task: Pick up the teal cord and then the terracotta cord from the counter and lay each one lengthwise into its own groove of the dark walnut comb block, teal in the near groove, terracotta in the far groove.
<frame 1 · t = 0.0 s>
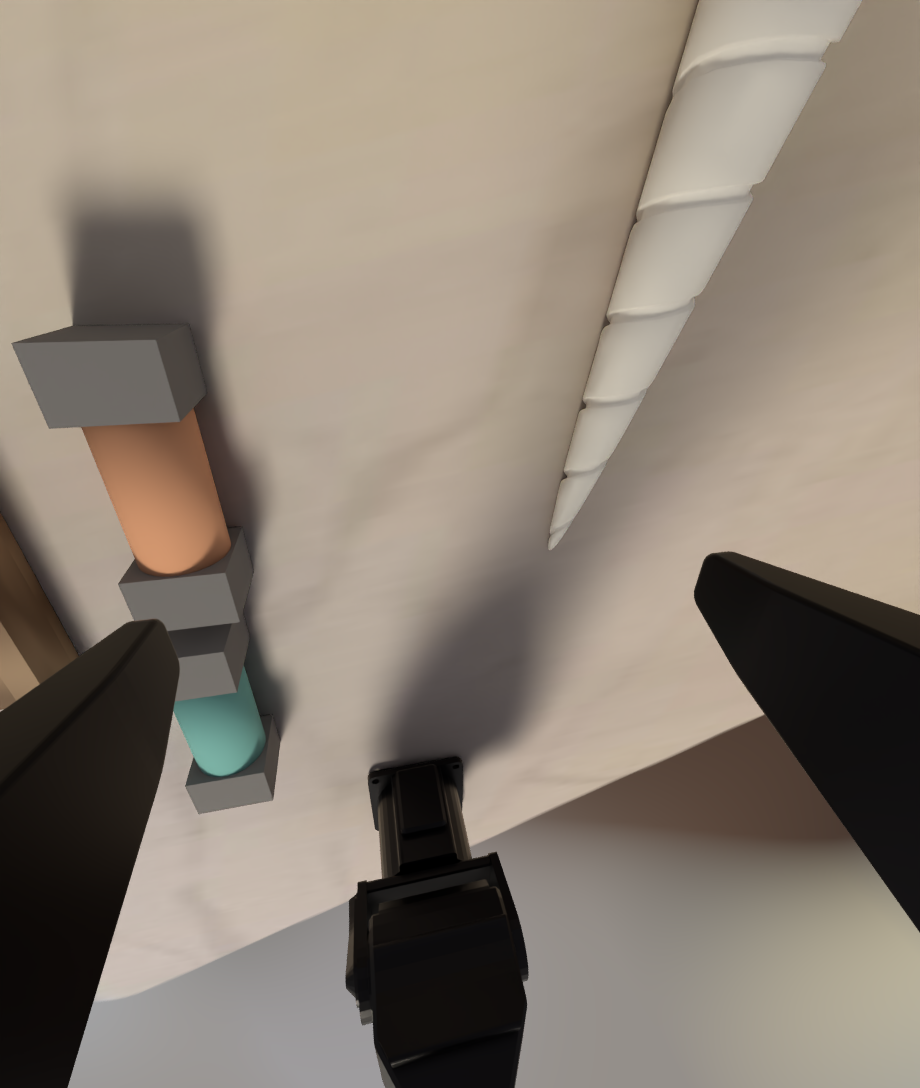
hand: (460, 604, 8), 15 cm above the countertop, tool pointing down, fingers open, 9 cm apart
teal cord: (225, 682, 27), on the countertop
unicorn horn: (640, 289, 21), on the countertop
terracotta cord: (177, 468, 20), on the countertop
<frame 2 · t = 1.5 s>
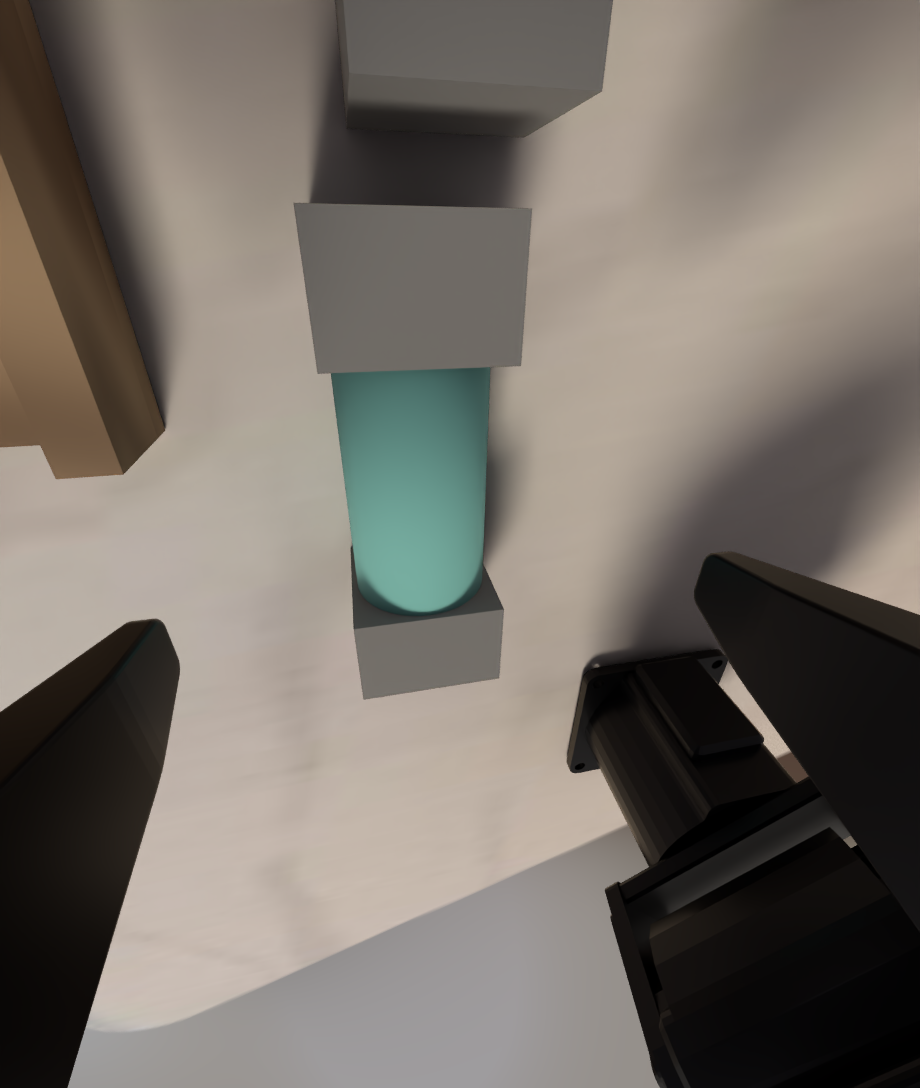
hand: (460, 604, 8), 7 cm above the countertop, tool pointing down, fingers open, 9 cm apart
teal cord: (407, 451, 14), on the countertop
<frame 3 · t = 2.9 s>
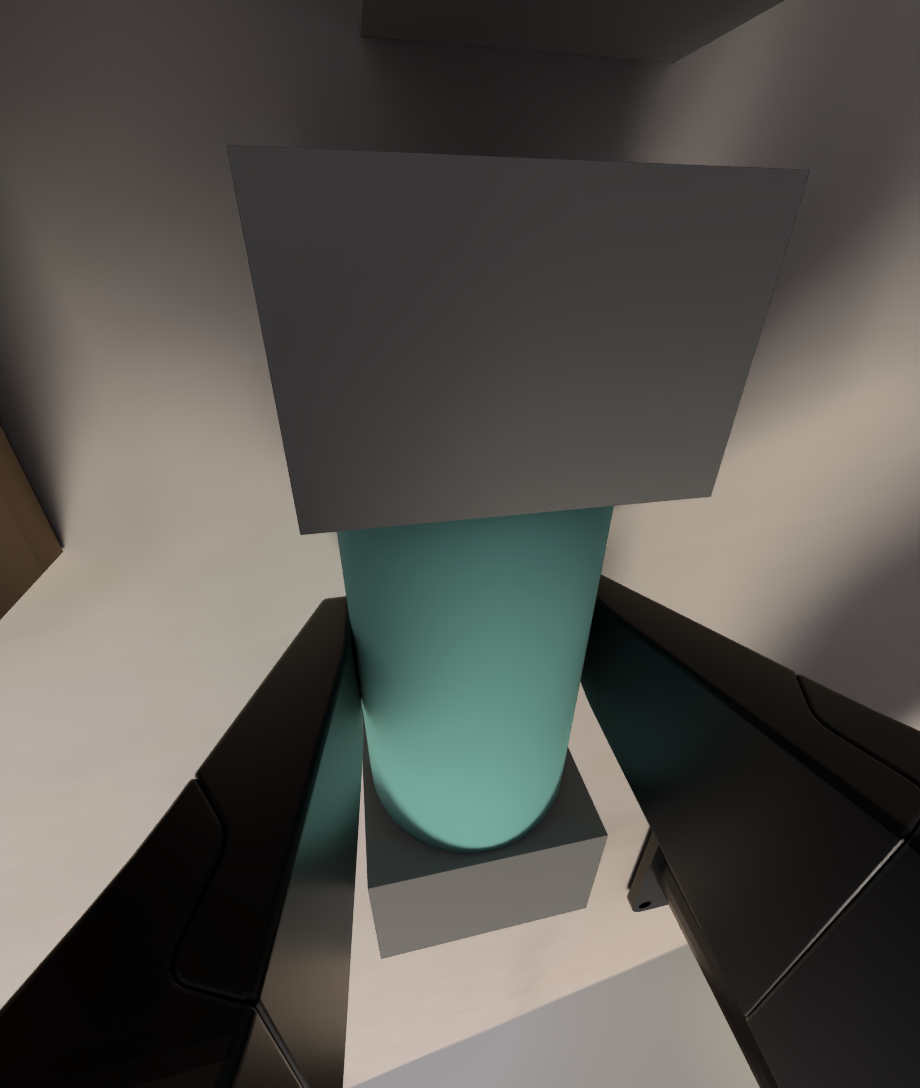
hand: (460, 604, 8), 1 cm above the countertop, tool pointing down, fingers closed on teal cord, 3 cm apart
teal cord: (446, 563, 9), on the countertop, touching gripper
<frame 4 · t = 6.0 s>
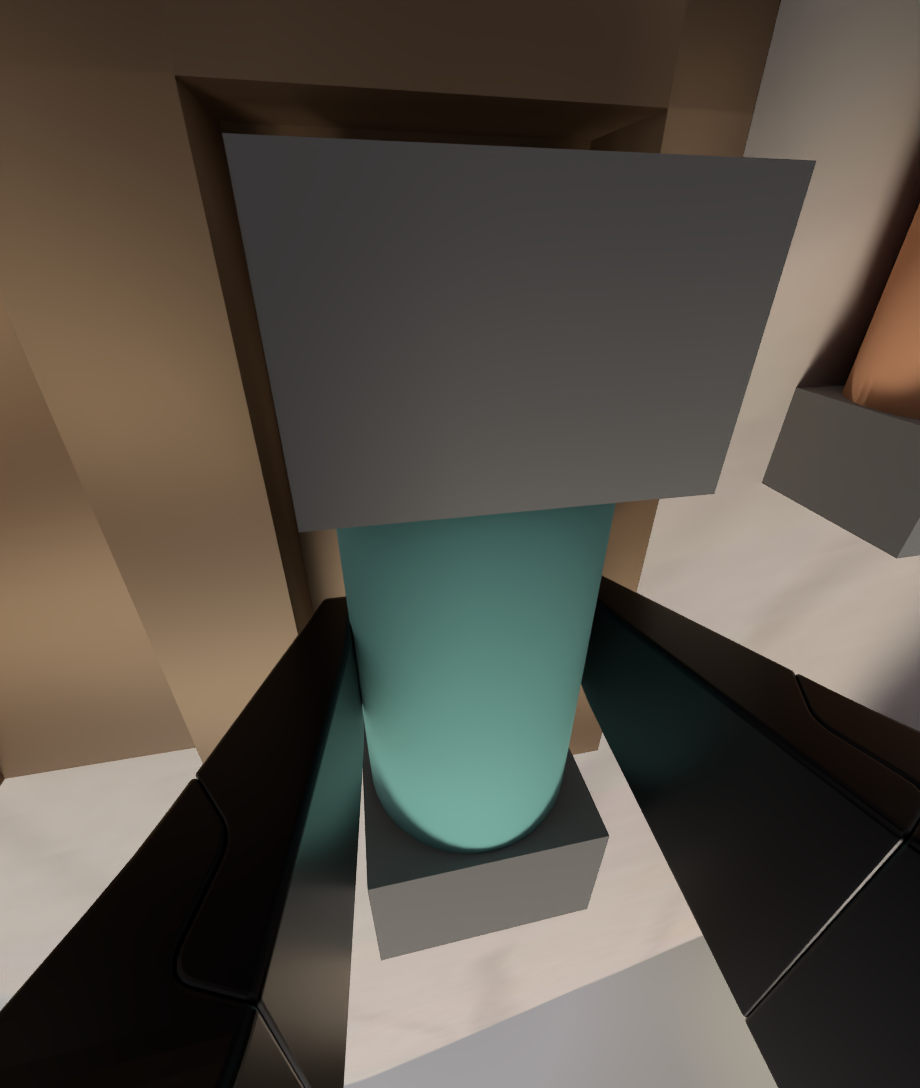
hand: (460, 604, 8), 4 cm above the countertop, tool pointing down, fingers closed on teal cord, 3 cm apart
teal cord: (447, 562, 9), point 3 cm above the countertop, touching gripper
comb block: (233, 488, 10), on the countertop
when the fingers open (4 cm above the countertop, at t = 6.0 s): teal cord drops 2 cm, resting on comb block.
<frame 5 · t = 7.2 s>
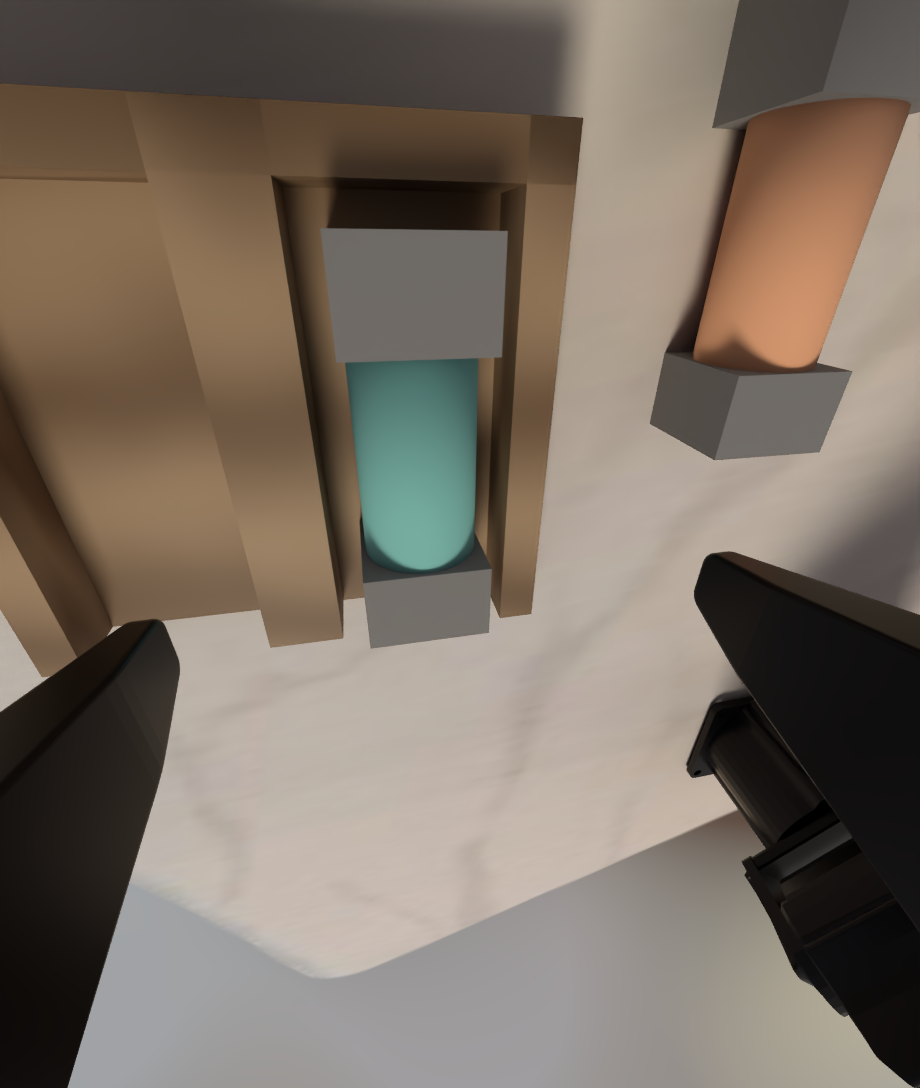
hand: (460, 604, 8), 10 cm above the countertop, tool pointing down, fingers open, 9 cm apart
teal cord: (409, 434, 16), point 1 cm above the countertop, touching comb block
comb block: (278, 415, 15), on the countertop
terracotta cord: (738, 252, 16), on the countertop
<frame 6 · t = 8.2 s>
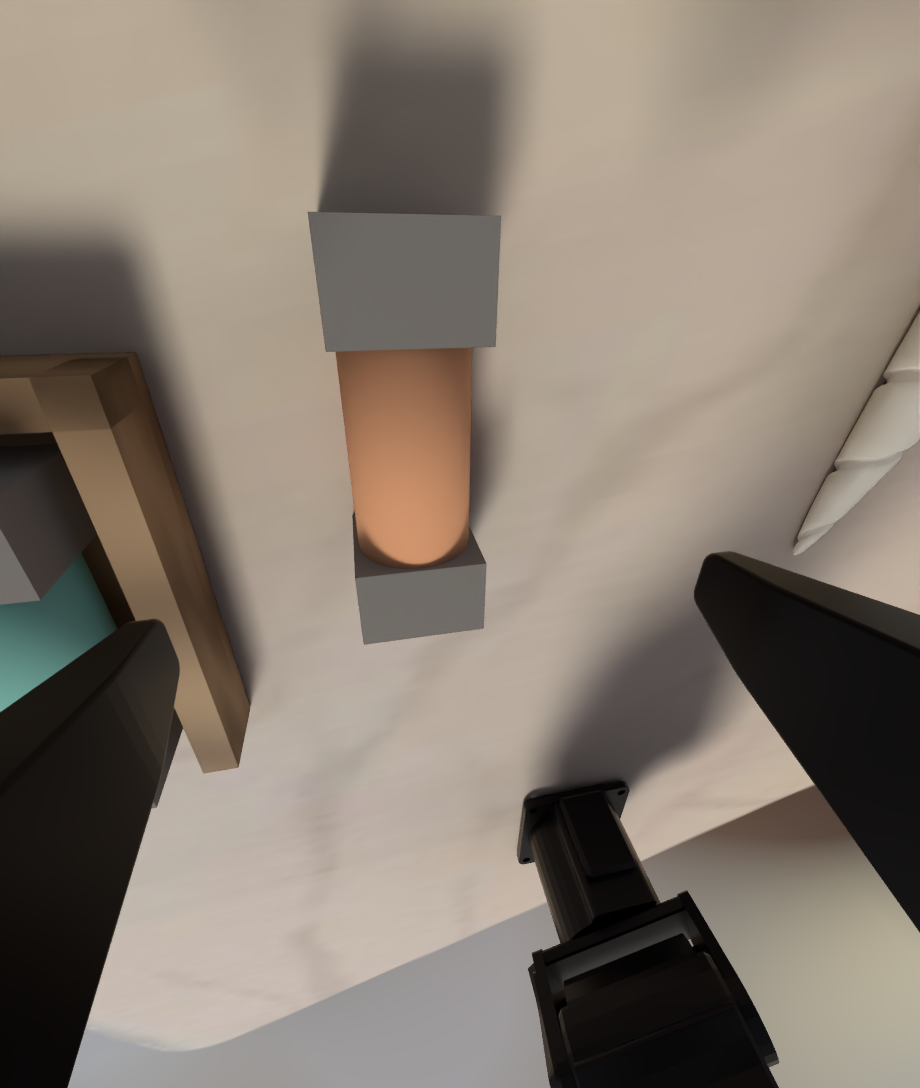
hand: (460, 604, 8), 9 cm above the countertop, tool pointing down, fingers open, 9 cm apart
teal cord: (76, 609, 16), point 1 cm above the countertop, touching comb block
terracotta cord: (402, 427, 16), on the countertop
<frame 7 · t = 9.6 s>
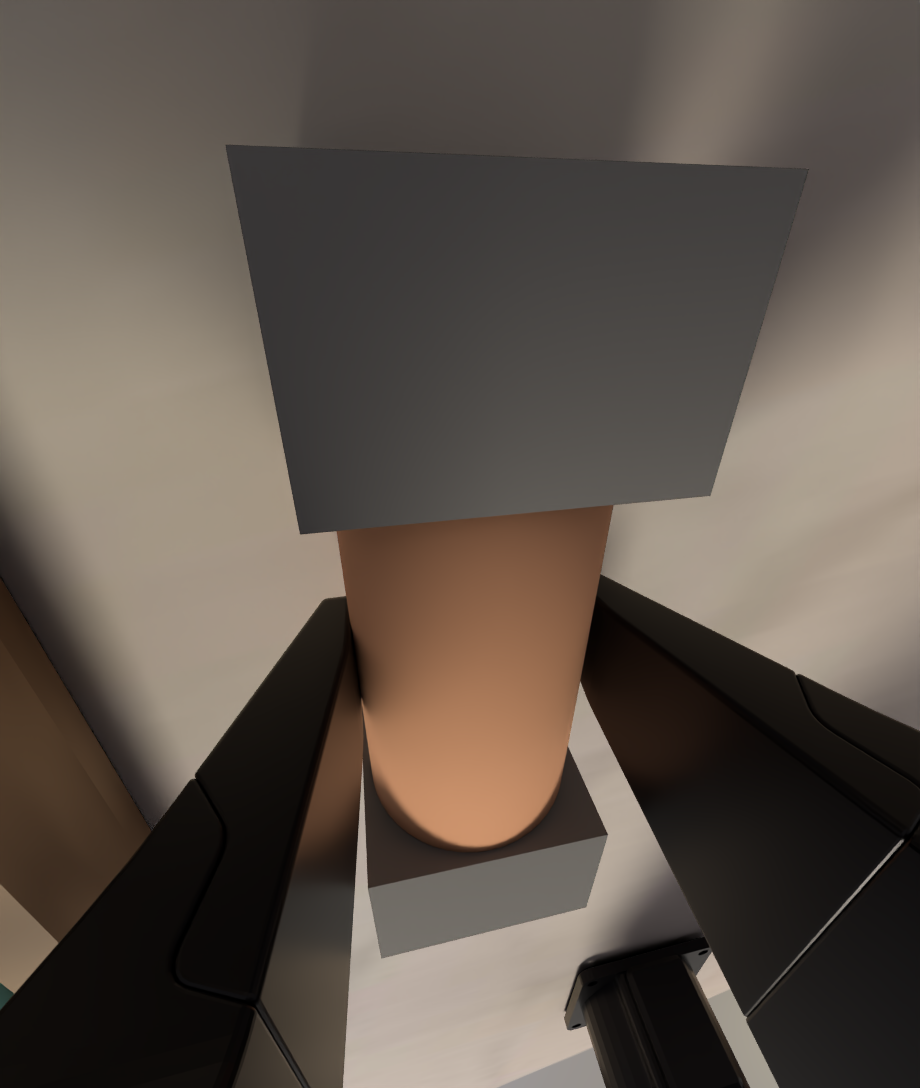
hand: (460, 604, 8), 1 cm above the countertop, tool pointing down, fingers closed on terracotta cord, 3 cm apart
terracotta cord: (446, 563, 9), on the countertop, touching gripper
when the fingers open (4 cm above the countertop, at t = 13.3 s): terracotta cord drops 2 cm, resting on comb block.
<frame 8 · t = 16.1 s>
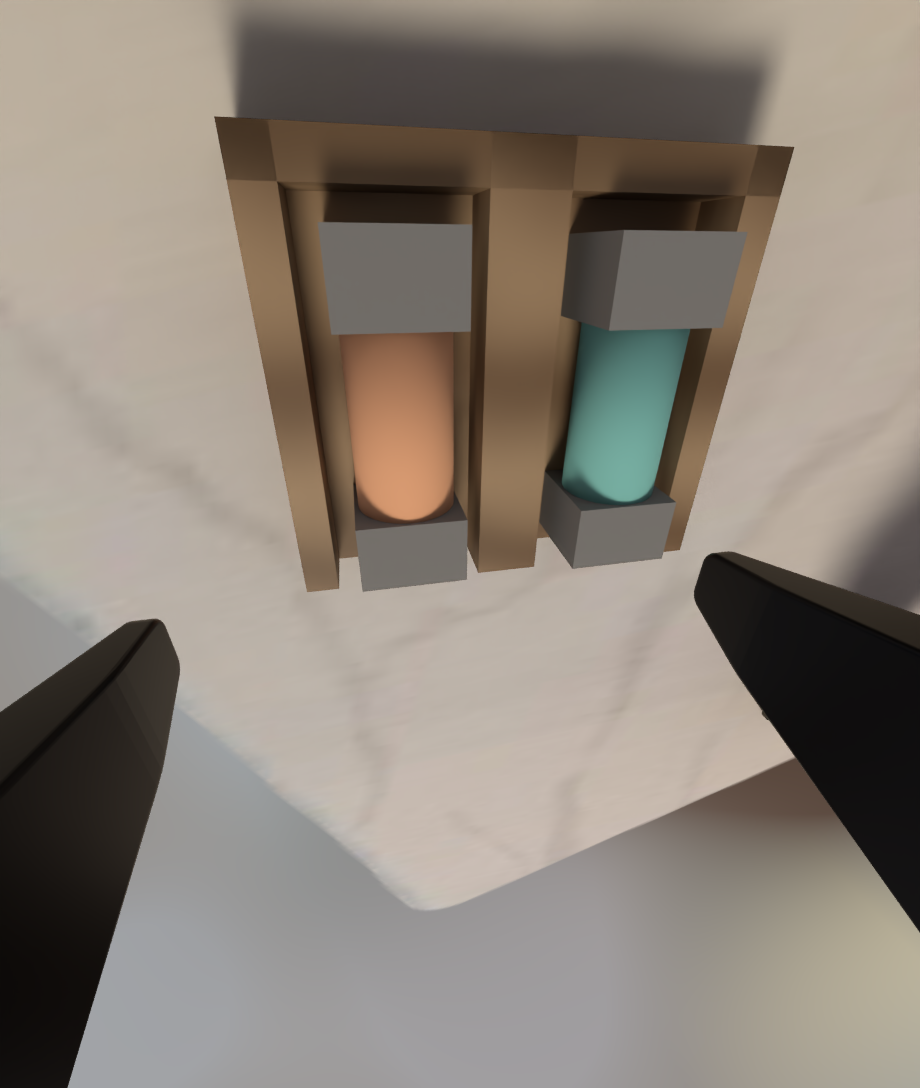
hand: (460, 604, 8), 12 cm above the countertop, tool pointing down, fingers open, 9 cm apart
teal cord: (596, 397, 19), point 1 cm above the countertop, touching comb block
comb block: (496, 380, 19), on the countertop
terracotta cord: (396, 405, 18), point 1 cm above the countertop, touching comb block
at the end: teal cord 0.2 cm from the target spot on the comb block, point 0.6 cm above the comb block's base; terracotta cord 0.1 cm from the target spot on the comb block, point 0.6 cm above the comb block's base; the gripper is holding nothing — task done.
